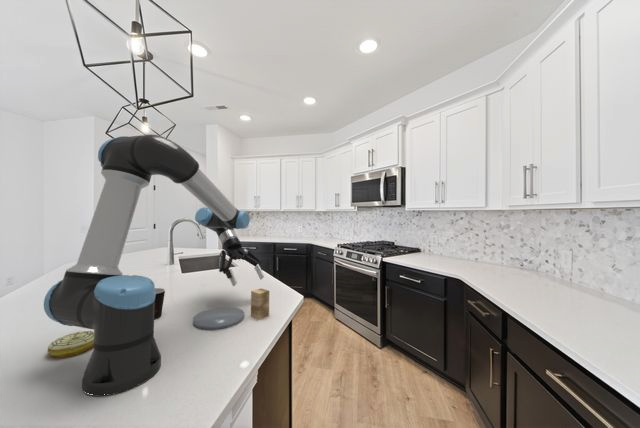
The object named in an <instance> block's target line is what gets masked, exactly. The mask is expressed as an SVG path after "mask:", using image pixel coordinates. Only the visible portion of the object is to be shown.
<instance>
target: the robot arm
mask: <svg viewBox="0 0 640 428" xmlns="http://www.w3.org/2000/svg"><path fill="white" fill-rule="evenodd" d="M97 160H98V162H100V167H101V172H100V174H101V175H102V176H103V178H104V180H105V181H104V184H103V188H102V191H101V192H100V195H99V199H98V201H97V204H96V207H95V210H94V213H93V215H92V218H91V222H90V225H89V227H88V230H87V233H86V236H85V238H84V241H83V244H82V247H81V250H80V253H79V257H78V259H77V263H76V264H75V265H72V266H71V267H69V268H67V269H65V273H64V275H63V278H62V279H61V280H59V281H58V282H57V283H55V284H54V285H52V286H51V287H50V288H49V290H48V291H47V293H46V294H45V297H44V300H43V309H44V313H45V314H46V316H47V317H48V318H49V319H50V320H52V321H54V322H55V323H59V324H61V325H63V326H67V327H77V328H82V329H89V330H93V332H94V346H93V349H92V350H93V351H92V354H91V356H90V358H89V361H88V363H87V364H86V368H85V370H84V373H83V376H82V379H81V389H83V390H82V392H83V391H85V392H86V393H89V394H93V395H103V396H108V395H107V394H110V395H114V394H113V393H115V394H119V393H122V392H125V391H128V390H130V388H131V389H134V388H135V386H136V387H138V386H140V385H141V383H142V384H143V383H145V382H147V381H149V380H150V379H151V378H152V377H154V376H155V375H156V374H157V372H159V371H160V368H161V367H162V354H161V351H160V348H159V347H158V344H157V342H156V339H155V334H154V331H155V320H154V316H155V296H156V293H155V288H156V285H155V283H154V281H153V280H152V279H151V278H149V277H146V276H143V275H137V274H133V275H129V274H125V275H124V274H123V272H122V271H121V270H120V268H119V265H120V261H121V259H122V254H123V252H124V248H125V244H126V241H127V239H128V235H129V231H130V228H131V224H132V222H133V218H134V215H135V212H136V208H137V205H138V202H139V198H140V195H141V191H142V189H143V188H146V187H148V186H149V185H150V182H151V179H152V176H154V175H155V176H156V175H159V176H164V177H166V178H168V179H170V180H171V181H172V182H173V183H175V184H177V185H178V184H179V185H181V186H183V187H184V188H185V190H187V191H188V192H189V193H190V194H191V195H192V196H194V197H195V198H196V199H197V200H198V201H199V202H201V203H202V204H203V207H201V208H199V209H198V210H197V211H196V213H195V216H194V220H195V222H196V223H198V224H200V225H201V226H202V227H205V228H207V229H209V230H210V231H213V232H215V233H216V235H217V237H218V239H219V241H220V243H221V245H222V248H223V249H222V250H221V251H220V253H219V256H220V262H219V269H218V272H219V273H222V274H224V275H225V277H226V278H227V279H228V280H229V281H230V283H231V286H232V287H235V286H236V285H237V283H238V280H237V278H236V276H235V274H234V271H233V270H232V268H230V267H231V264H232V263H233V261H237V260H242V261H245V262H247V263H249V264H250V265H252V266H253V267H254V270H255V272H256V274H257V276H258V278H259V279H260V281H261V280H263V279H264V277H265V274H264V272H263V268H262V266H261V264H262V263H263V260H262V259H260V257H259V256H257V255H256V254H255V253H254V252H253V251H252V250H250V247H246V248H243V245H242V242H241V241H240V239H239V237H238V235H237V233H236V231H235V230H240V229H241V230H242V229H246V228H247V227H249V223H250V220H251V219H250V215H249V212H247V211H245V210H238V208H237V207H236V206H235V205H234V204H233V203H232V202H231V201H230V200H229V199H228V198H227V197H226V195H225V194H224V193H222V191H221V190H220V189H219V188H218V187H217V186H216V185H215V183H213V182H212V181H211V180H210V178H209V177H208V176H207V175H205V173H204V172H203V170H201V169H200V163H199V162H198V161H197V160H196V159H195V158H194V157H193V156H192V155H191V154H190V153H189V152H188V151H187V150H186V149H184V148H183V147H182V146H180V145H179V144H177V143H176V142H174V141H172V140H171V139H169V138H167V137H165V136H162V135H157V134H144V135H133V136H117V137H113V138H110V139H108V140H105V142H104V143H102V144H101V146H100V147H99V149H98V153H97ZM204 206H205V207H204ZM226 257H229V258H228V261H227V263H226ZM139 384H140V385H139ZM137 385H138V386H137ZM127 389H128V390H127ZM124 390H125V391H124ZM121 391H122V392H121ZM118 392H119V393H118ZM86 393H85V394H86ZM104 394H105V395H104ZM93 395H92V396H93Z"/></svg>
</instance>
